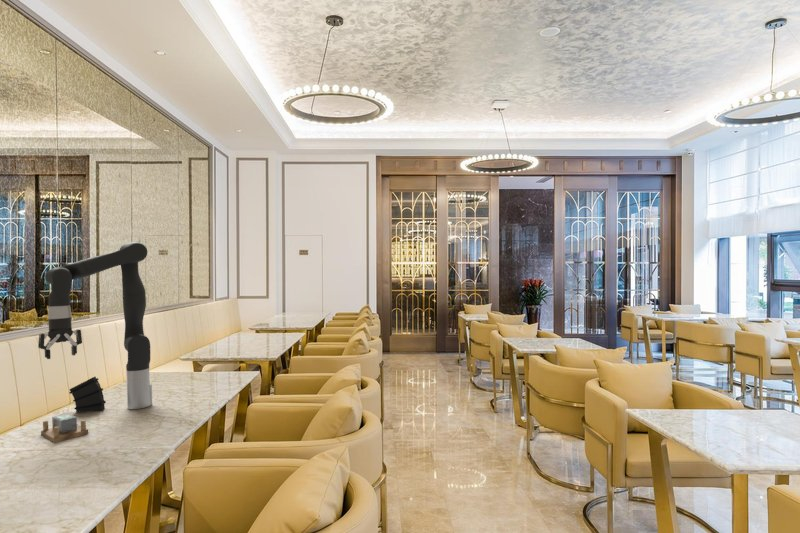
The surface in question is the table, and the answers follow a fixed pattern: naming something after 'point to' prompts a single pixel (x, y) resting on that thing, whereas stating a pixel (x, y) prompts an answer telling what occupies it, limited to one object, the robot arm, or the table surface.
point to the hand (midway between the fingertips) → (61, 357)
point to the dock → (56, 436)
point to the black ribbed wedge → (88, 396)
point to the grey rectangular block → (65, 423)
